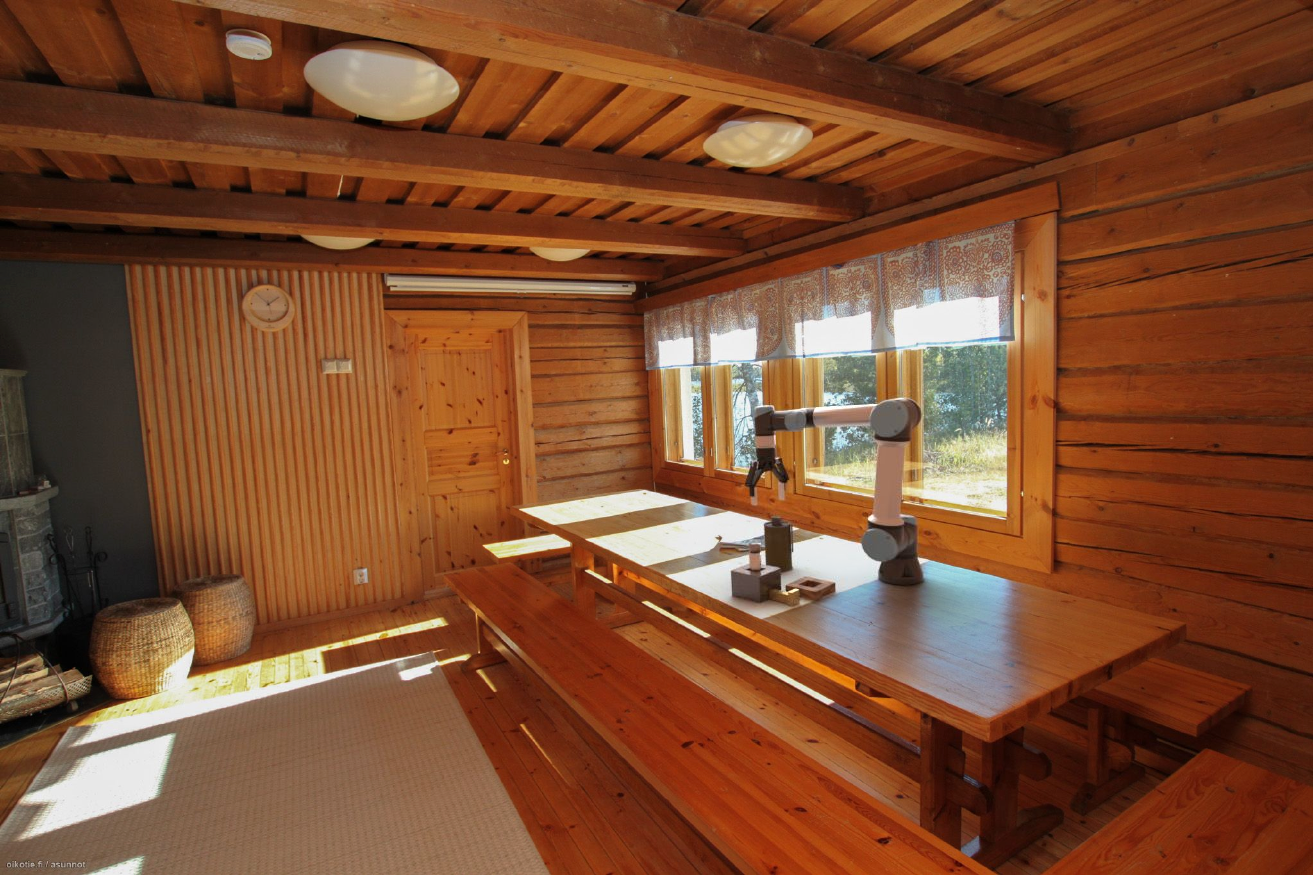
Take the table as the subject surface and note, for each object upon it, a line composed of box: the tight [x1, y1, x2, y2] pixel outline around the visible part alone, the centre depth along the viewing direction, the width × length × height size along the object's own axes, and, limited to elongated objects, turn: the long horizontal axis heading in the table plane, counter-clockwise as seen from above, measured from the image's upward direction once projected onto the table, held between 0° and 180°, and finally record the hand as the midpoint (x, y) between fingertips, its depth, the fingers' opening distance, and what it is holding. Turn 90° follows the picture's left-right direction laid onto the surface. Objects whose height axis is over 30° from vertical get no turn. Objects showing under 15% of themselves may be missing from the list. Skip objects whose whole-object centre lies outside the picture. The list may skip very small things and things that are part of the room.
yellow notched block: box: [768, 588, 801, 607], centre depth 225 cm, size 12×4×4 cm, turn 44°
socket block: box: [730, 563, 782, 604], centre depth 232 cm, size 12×12×9 cm
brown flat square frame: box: [784, 576, 836, 602], centre depth 232 cm, size 12×12×3 cm
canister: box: [763, 515, 794, 573], centre depth 261 cm, size 11×10×20 cm
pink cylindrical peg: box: [748, 541, 762, 572], centre depth 231 cm, size 4×4×14 cm
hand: (768, 502), depth 258 cm, fingers open, 13 cm apart
